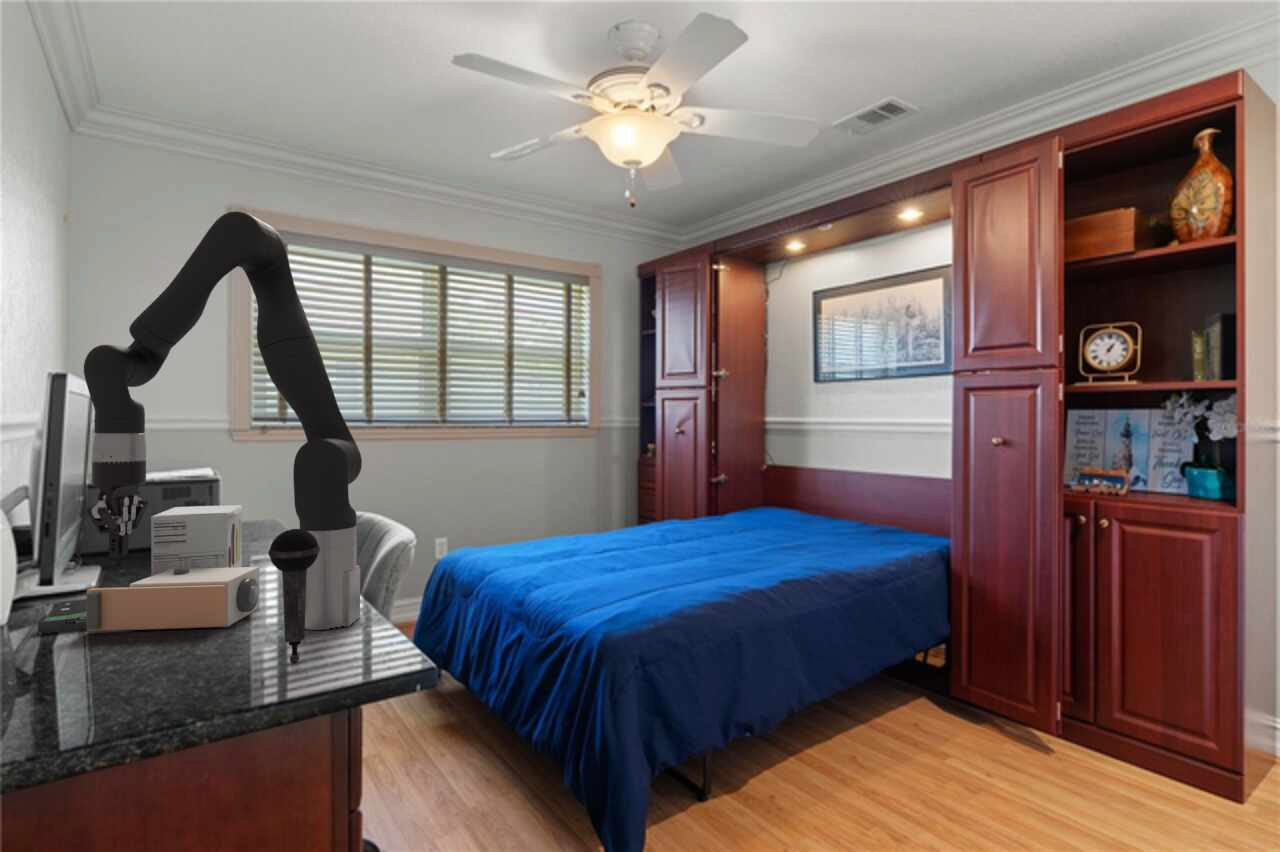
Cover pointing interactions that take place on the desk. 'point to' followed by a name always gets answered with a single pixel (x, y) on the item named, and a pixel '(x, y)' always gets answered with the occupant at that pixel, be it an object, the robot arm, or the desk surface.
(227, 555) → the supplement box
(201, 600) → the door
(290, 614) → the microphone
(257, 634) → the desk surface
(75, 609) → the disk drive
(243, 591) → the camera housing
